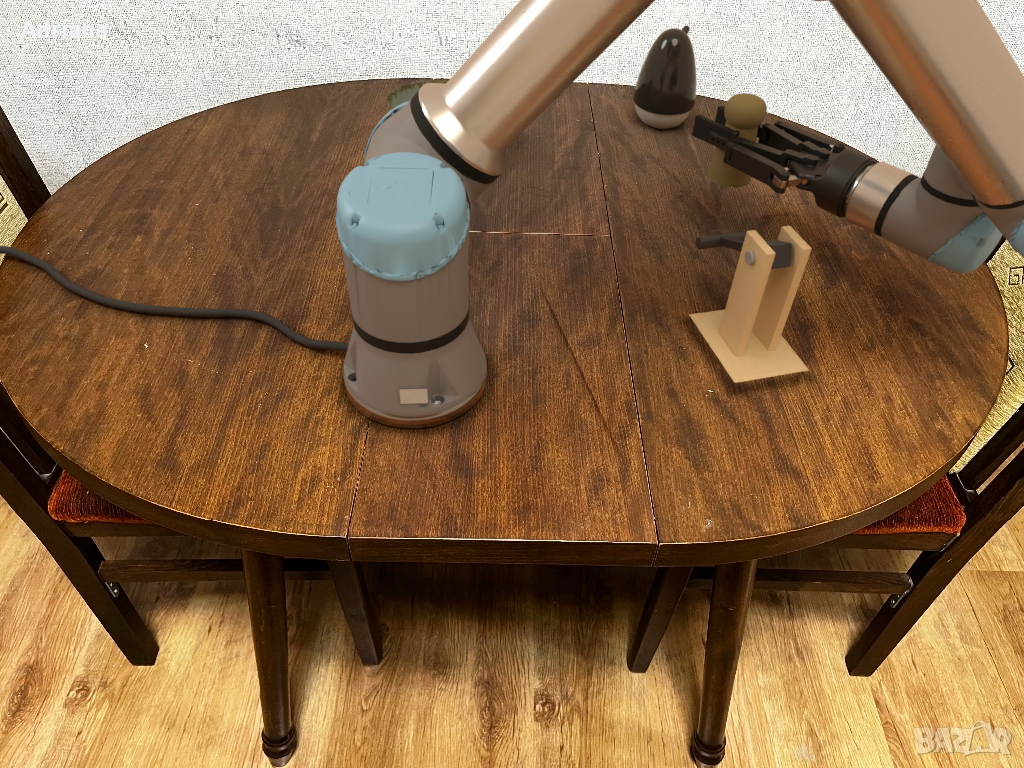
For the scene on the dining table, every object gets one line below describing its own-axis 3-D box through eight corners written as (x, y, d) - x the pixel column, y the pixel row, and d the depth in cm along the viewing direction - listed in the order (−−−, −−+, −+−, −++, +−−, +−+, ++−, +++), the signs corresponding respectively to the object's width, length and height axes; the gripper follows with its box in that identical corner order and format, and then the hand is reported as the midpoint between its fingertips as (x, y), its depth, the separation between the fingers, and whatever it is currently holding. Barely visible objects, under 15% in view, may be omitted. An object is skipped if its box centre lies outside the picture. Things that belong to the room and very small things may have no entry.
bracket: (686, 322, 91) (712, 213, 81) (755, 312, 93) (789, 204, 83) (732, 390, 83) (767, 279, 72) (806, 378, 85) (850, 267, 74)
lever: (695, 252, 89) (695, 232, 89) (741, 246, 91) (742, 226, 90) (754, 271, 77) (755, 248, 77) (807, 264, 79) (808, 241, 78)
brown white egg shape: (699, 118, 132) (718, 26, 121) (676, 141, 125) (693, 46, 115) (646, 103, 135) (659, 13, 125) (620, 125, 129) (632, 31, 118)
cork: (751, 190, 102) (774, 110, 94) (706, 184, 102) (724, 104, 95) (750, 168, 106) (772, 90, 98) (706, 163, 107) (724, 85, 99)
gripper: (811, 241, 89) (660, 164, 101) (887, 196, 97) (738, 129, 110) (831, 183, 84) (669, 109, 96) (910, 140, 92) (751, 77, 105)
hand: (706, 120), depth 103 cm, fingers closed on cork, 4 cm apart
